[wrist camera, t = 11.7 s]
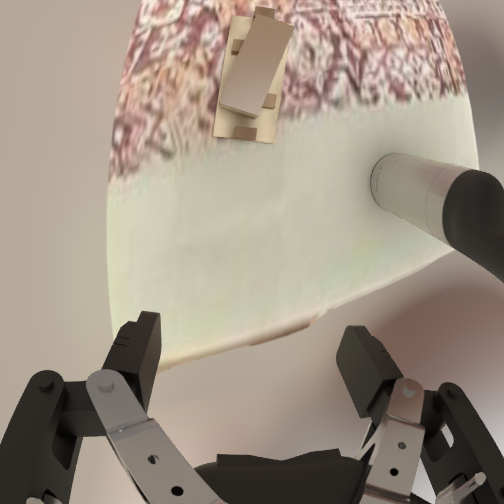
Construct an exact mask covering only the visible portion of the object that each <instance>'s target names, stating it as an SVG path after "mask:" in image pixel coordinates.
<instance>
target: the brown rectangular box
mask: <svg viewBox="0 0 504 504" xmlns="http://www.w3.org/2000/svg"><path fill="white" fill-rule="evenodd" d="M294 28H295V27H294V26H292V25H289V24H287V23H284V22H281V21H278V20H275V19H273V18H270V17H267V16H264V15H260V14H256V16H255V18H254V21H253V23H252V25H251V27H250V29H249V31H248V33H247V36H246V38H245V40H244V42H243V45H242V47H241V49H240V51H239V54H238V56H237V58H236V61H235V63H234V65H233V68H232V70H231V73H230V75H229V77H228V80H227V82H226V85H225V87H224V90H223V92H222V95H221V98H220V100H219V104H218V105H219V107H220V108H221V109H225V110H228V111H231V112H234V113H237V114H240V115H243V116H246V117H249V118H252V119H256V118H258V116H259V114H260V111H261V109H262V106H263V103H264V101H265V98H266V96H267V93H268V91H269V88H270V86H271V83H272V81H273V78H274V76H275V73H276V71H277V68H278V66H279V63H280V61H281V59H282V56H283V54H284V51H285V49H286V47H287V44H288V42H289V40H290V37H291V35H292V32H293V30H294Z"/></svg>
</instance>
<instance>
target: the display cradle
mask: <svg viewBox="0 0 504 504" xmlns="http://www.w3.org/2000/svg"><path fill="white" fill-rule="evenodd" d="M256 14H260V15H264V16H267V17H270V18H273V19H274V14H275V9H271V8H264V7H257V6H256V7H255V12H254V16H253V18H251V17H242V16H233V15H232V20H231V25H230V30H229V36H228V41H227V47H226V52H225V58H224V64H223V70H222V76H221V83H220V89H219V96H218V102H217V109H216V117H215V124H214V131H213V136H215V137H225V138H234V139H243V140H250V141H258V142H265V143H272V144H274V140H275V133H276V126H277V120H278V113H279V106H280V99H281V92H282V85H283V78H284V71H285V64H286V57H287V50H288V44H287V47H286V49H285V51H284V54H283V56H282V59H281V61H280V63H279V66H278V68H277V71H276V73H275V76H274V78H273V81H272V83H271V86H270V88H269V91H268V93H267V96H266V98H265V101H264V103H263V106H262V109H261V111H260V114H259V116H258V118H256V119H252V118H249V117H246V116H243V115H240V114H237V113H234V112H231V111H228V110H225V109H221V108H220V107H219V105H218V104H219V100H220V98H221V95H222V92H223V90H224V87H225V85H226V82H227V80H228V77H229V75H230V73H231V70H232V68H233V65H234V63H235V61H236V58H237V56H238V54H239V51H240V49H241V47H242V45H243V42H244V40H245V38H246V36H247V33H248V31H249V29H250V27H251V25H252V23H253V21H254V18H255V16H256ZM289 25H291V24H289ZM288 43H289V42H288Z"/></svg>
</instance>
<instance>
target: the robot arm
mask: <svg viewBox="0 0 504 504" xmlns="http://www.w3.org/2000/svg"><path fill="white" fill-rule="evenodd" d="M371 190H372V194H373V196H374V198H375V201H376V202H377V203H378V204H379V205H380V206H381V207H382V208H384V209H386V210H387V211H389V212H391V213H393V214H395V215H397V216H398V217H400V218H402V219H404V220H406V221H408V222H409V223H411V224H413V225H415V226H417V227H418V228H420V229H422V230H424V231H425V232H427V233H429V234H430V235H432V236H434V237H436V238H437V239H439V240H441V241H443V242H444V243H446V244H447V245H449V246H451V247H452V248H454V249H456V250H458V251H459V252H461V253H462V254H464V255H466V256H467V257H469V258H470V259H472V260H473V261H475V262H476V263H478V264H479V265H481V266H482V267H484V268H485V269H487V270H488V271H489V272H491V273H492V274H494V275H495V276H496V277H497V278H499V279H500V280H501V281H502V282H503V283H504V189H503V187H502V185H501V183H500V182H499V181H498V180H497V179H496V178H495V177H494V176H492V175H490V174H489V173H486V172H482V171H478V170H474V169H470V168H466V167H462V166H457V165H452V164H448V163H443V162H439V161H434V160H429V159H424V158H419V157H413V156H408V155H402V154H390V155H387V156H385V157H383V158H382V159H381V160H380V161H379V162H378V163H377V165H376V166H375V168H374V170H373V173H372V177H371ZM160 355H161V320H160V313H156V312H148V311H142V312H141V313H140V316H139V318H138V320H137V322H132V321H128V322H127V323H126V324H124V325H123V326H122V327H121V328H120V330H119V332H118V334H117V337H116V338H115V340H114V343H113V345H112V347H111V349H110V351H109V353H108V356H107V358H106V360H105V362H104V365H103V367H102V369H101V370H98V371H96V372H94V373H92V374H91V375H90V376H89V377H88V379H87V381H78V382H77V381H76V382H64V381H63V378H62V376H61V375H60V374H58V373H57V372H54V371H51V370H44V371H40V372H38V373H36V374H35V375H33V376H32V378H31V379H30V381H29V383H28V385H27V387H26V389H25V391H24V393H23V395H22V397H21V399H20V401H19V403H18V405H17V407H16V409H15V412H14V413H13V416H12V418H11V420H10V423H9V425H8V427H7V429H6V432H5V434H4V437H3V439H2V442H1V444H0V504H69V499H70V494H71V488H72V483H73V478H74V473H75V469H76V464H77V460H78V456H79V452H80V448H81V444H82V440H83V437H90V436H106V438H107V440H108V442H109V443H110V445H111V447H112V449H113V451H114V453H115V454H116V456H117V458H118V460H119V461H120V463H121V465H122V466H123V468H124V470H125V472H126V473H127V475H128V476H129V478H130V480H131V481H132V483H133V485H134V486H135V488H136V489H137V491H138V492H139V494H140V495H141V497H142V498H143V500H144V501H145V503H146V504H431V503H429V502H427V501H425V500H424V499H422V498H420V497H419V496H416V495H415V494H413V493H412V492H411V489H412V486H413V482H414V478H415V474H416V471H417V466H418V462H419V457H420V458H421V460H422V463H423V465H424V467H425V470H426V472H427V475H428V477H429V480H430V482H431V485H432V487H433V489H434V492H435V495H436V501H435V504H504V458H503V456H502V454H501V452H500V450H499V448H498V447H497V445H496V443H495V441H494V440H493V438H492V436H491V435H490V433H489V431H488V430H487V428H486V427H485V425H484V423H483V421H482V420H481V418H480V417H479V415H478V413H477V412H476V410H475V409H474V407H473V406H472V404H471V402H470V401H469V399H468V398H467V397H466V395H465V393H464V392H463V390H462V389H461V388H460V387H459V386H457V385H456V384H454V383H450V382H445V383H443V384H441V386H440V387H439V389H438V390H437V391H430V390H424V389H423V387H422V386H421V384H420V383H419V382H417V381H416V380H414V379H411V378H407V377H404V376H403V375H402V373H401V371H400V370H399V368H398V367H397V365H396V364H395V362H394V361H393V359H392V358H391V356H390V355H389V353H388V352H387V350H386V349H385V347H384V346H383V344H382V343H381V342H380V341H379V340H378V339H376V338H375V337H374V336H371V334H370V333H369V331H368V330H367V328H366V327H365V326H347V328H346V329H345V332H344V335H343V338H342V340H341V343H340V346H339V349H338V351H337V355H336V362H337V366H338V368H339V371H340V373H341V375H342V377H343V380H344V382H345V384H346V386H347V389H348V391H349V393H350V396H351V398H352V400H353V403H354V405H355V407H356V410H357V412H358V414H359V417H360V418H366V417H371V419H372V420H371V422H370V423H369V426H368V428H367V430H366V433H365V435H364V438H363V440H362V443H361V445H360V447H359V450H358V452H357V454H356V456H355V458H354V459H353V458H350V457H344V456H341V454H340V451H339V449H332V450H323V451H314V452H309V453H306V454H303V455H300V456H297V457H294V458H290V459H287V460H283V461H282V460H281V461H280V460H273V459H268V458H262V457H257V456H252V455H227V454H217V460H216V462H212V463H207V464H203V465H201V466H198V467H195V468H194V469H193V468H192V467H191V465H190V464H189V463H188V462H187V461H186V459H185V458H184V457H183V456H182V454H181V453H180V452H179V451H178V449H177V448H176V447H175V445H174V444H173V443H172V441H171V440H170V439H169V437H168V436H167V435H166V433H165V432H164V431H163V429H162V428H161V427H160V425H159V424H158V423H157V421H156V420H155V419H153V418H151V419H150V418H149V417H148V416H147V410H148V405H149V401H150V397H151V392H152V388H153V384H154V379H155V375H156V371H157V367H158V363H159V359H160ZM445 424H447V426H448V428H449V429H450V431H451V433H452V435H453V438H454V443H453V445H452V447H451V448H450V447H449V444H448V442H447V441H446V438H445V437H444V435H443V433H442V431H441V429H442V428H443V427H444V426H445Z"/></svg>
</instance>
